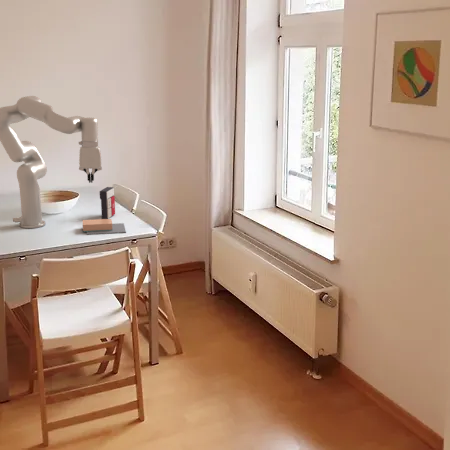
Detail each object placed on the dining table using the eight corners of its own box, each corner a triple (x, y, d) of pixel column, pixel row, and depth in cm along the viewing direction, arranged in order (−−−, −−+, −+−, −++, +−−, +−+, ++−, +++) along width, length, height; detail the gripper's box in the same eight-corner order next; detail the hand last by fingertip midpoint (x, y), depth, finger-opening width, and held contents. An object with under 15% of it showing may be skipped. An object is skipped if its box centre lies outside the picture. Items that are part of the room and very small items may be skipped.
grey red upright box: (108, 219, 337) (107, 191, 333) (100, 219, 338) (99, 191, 334) (116, 214, 347) (115, 187, 343) (108, 214, 348) (107, 186, 344)
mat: (86, 234, 310) (86, 233, 310) (86, 225, 325) (86, 224, 325) (125, 232, 314) (125, 231, 314) (123, 224, 329) (123, 223, 329)
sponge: (82, 224, 312) (112, 223, 315) (82, 220, 320) (111, 218, 323) (83, 231, 313) (112, 230, 316) (82, 226, 321) (111, 225, 324)
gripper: (73, 145, 302) (74, 184, 307) (106, 145, 305) (106, 183, 310) (73, 142, 309) (74, 180, 314) (105, 142, 312) (106, 180, 317)
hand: (90, 182), depth 312 cm, fingers closed
